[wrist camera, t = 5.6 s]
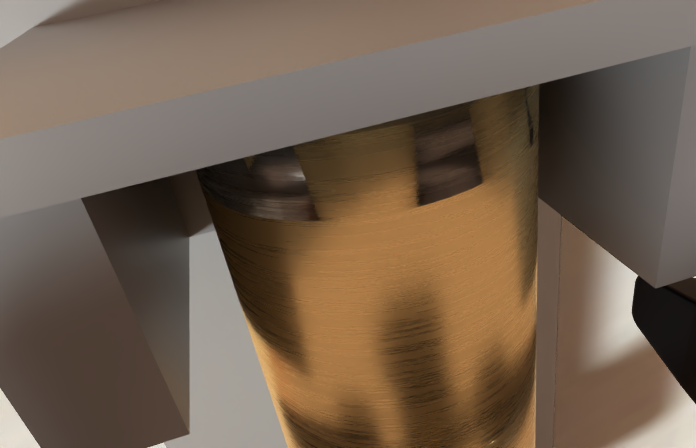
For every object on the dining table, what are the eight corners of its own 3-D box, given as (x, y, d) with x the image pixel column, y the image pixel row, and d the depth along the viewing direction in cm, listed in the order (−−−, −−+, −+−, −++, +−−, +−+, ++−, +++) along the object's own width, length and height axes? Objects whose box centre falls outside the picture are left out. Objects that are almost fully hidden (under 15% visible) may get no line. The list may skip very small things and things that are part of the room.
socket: (520, 121, 11) (800, 286, 6) (118, 224, 10) (45, 531, 5) (519, -73, 9) (911, -72, 4) (32, 27, 8) (-214, 188, 3)
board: (540, 506, 19) (550, 522, 19) (255, 608, 18) (257, 629, 17) (554, -150, 10) (574, -153, 9) (-57, -34, 8) (-74, -32, 8)
